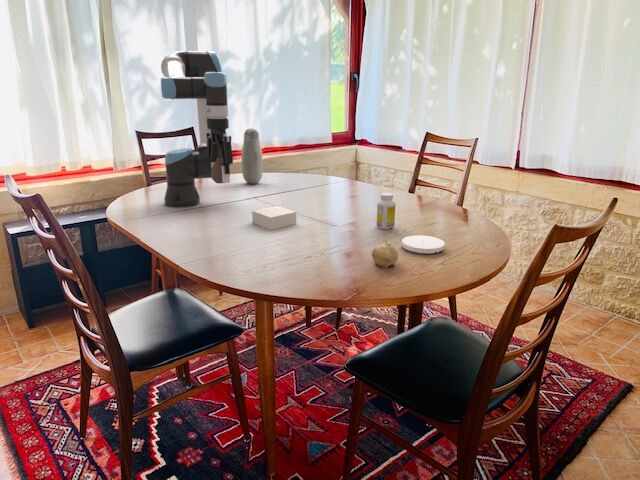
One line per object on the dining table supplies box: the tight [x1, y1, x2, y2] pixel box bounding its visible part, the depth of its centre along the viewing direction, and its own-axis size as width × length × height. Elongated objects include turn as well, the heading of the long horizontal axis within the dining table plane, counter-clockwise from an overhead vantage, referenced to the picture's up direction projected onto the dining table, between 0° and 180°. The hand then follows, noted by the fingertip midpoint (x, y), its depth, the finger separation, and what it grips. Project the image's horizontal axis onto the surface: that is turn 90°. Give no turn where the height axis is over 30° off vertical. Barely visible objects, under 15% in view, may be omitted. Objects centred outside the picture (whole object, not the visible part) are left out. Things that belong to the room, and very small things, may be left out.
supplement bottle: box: [376, 192, 396, 230], centre depth 188 cm, size 7×7×13 cm
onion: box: [371, 240, 399, 268], centre depth 153 cm, size 8×8×7 cm
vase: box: [211, 158, 223, 184], centre depth 186 cm, size 7×7×9 cm
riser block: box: [251, 205, 297, 230], centre depth 194 cm, size 12×12×5 cm
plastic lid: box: [401, 234, 446, 254], centre depth 168 cm, size 14×14×2 cm
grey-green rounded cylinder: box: [241, 128, 263, 185], centre depth 259 cm, size 10×10×28 cm
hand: (220, 180), depth 187 cm, fingers closed on vase, 7 cm apart
